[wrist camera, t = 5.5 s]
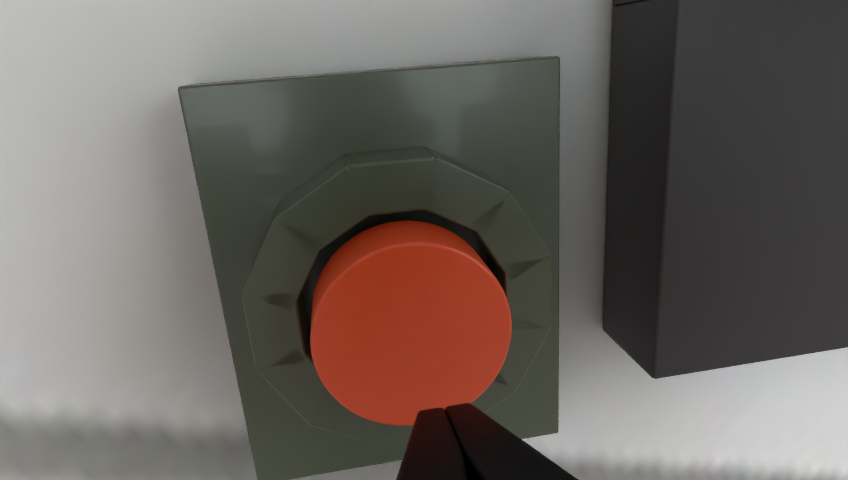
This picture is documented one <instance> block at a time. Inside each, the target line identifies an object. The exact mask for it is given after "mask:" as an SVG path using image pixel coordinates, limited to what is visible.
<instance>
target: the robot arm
mask: <svg viewBox="0 0 848 480" xmlns="http://www.w3.org/2000/svg"><path fill="white" fill-rule="evenodd" d="M396 480H578V479H576V478H575V477H574V476H572V475H571V474H569V473H568V472H567V471H565V470H564V469H562V468H561V467H560V466H558V465H557V464H555V463H554V462H552V461H551V460H550V459H548V458H547V457H545V456H544V455H543V454H541V453H540V452H538V451H537V450H536V449H534V448H533V447H531V446H530V445H529V444H527V443H526V442H524V441H523V440H522V439H520V438H519V437H517V436H516V435H514V434H513V433H512V432H510V431H509V430H507V429H506V428H505V427H503V426H502V425H500V424H499V423H498V422H496V421H495V420H493V419H492V418H491V417H489V416H488V415H486V414H485V413H484V412H482V411H481V410H479V409H478V408H477V407H475V406H474V405H472V404H470V403H463V404H457V405H451V406H447V407H446V408H445V410H444V409H443V408H440V407H439V408H432V409H426V410H421V411H419V412H418V414H417V416H416V419H415V422H414V426H413V429H412V432H411V435H410V438H409V441H408V445H407V448H406V451H405V454H404V457H403V460H402V463H401V467H400V470H399V473H398V476H397V479H396Z"/></svg>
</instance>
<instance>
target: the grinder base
mask: <svg viewBox="0 0 848 480" xmlns="http://www.w3.org/2000/svg"><path fill="white" fill-rule="evenodd" d="M613 5H614V6H615V7H614V8H613V29H612V61H611V93H610V125H609V157H608V189H607V221H606V253H605V285H604V317H603V330H604V331H605V332H606V333H607V334H608V335H609V336H610V337H611V338H612V339H613V340H614V341H615V342H616V343H617V344H618V345H619V346H620V347H621V348H622V349H623V350H624V351H625V352H626V353H627V354H628V355H629V356H631V357H632V358H633V359H634V360H635V361H636V362H637V363H638V364H639V365H640V366H641V367H642V368H643V369H644V370H645V371H646V372H647V373H648V374H649V375H650V376H651V377H652V378H655V379H657V378H663V377H669V376H675V375H681V374H687V373H693V372H699V371H705V370H711V369H717V368H724V367H730V366H736V365H742V364H748V363H754V362H760V361H766V360H772V359H778V358H784V357H791V356H797V355H803V354H809V353H815V352H821V351H827V350H833V349H839V348H845V347H848V0H613Z"/></svg>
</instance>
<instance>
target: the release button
mask: <svg viewBox="0 0 848 480" xmlns="http://www.w3.org/2000/svg"><path fill="white" fill-rule="evenodd" d="M511 331H512V320H511V311H510V307H509V303H508V300H507V297H506V295H505V292H504V290H503V288H502V286H501V285H500V283H499V281H498V280H497V278H496V277H495V276H494V274H493V273H492V272H491V271H490V269H489V268H488V267H487V265H486V264H485V263H484V262H483V260H482V259H481V258H480V256H479V255H478V254H477V253H476V252H475V250H474V249H473V248H472V247H471V246H470V245H469V244H468V243H467V242H466V241H465V240H464V239H462V238H461V237H460V236H458V235H457V234H455V233H454V232H452V231H450V230H448V229H446V228H444V227H441V226H438V225H435V224H432V223H427V222H422V221H411V220H406V221H394V222H388V223H383V224H380V225H377V226H374V227H371V228H369V229H367V230H364V231H362V232H360V233H359V234H357V235H355V236H354V237H352V238H351V239H349V240H348V241H347V242H346V243H344V244H343V245H342V246H341V247H340V248H339V249H338V250H337V251H336V252H335V253H334V254H333V255H332V256H331V258H330V259H329V260H328V262H327V263H326V264H325V266H324V268H323V270H322V272H321V273H320V275H319V278H318V280H317V283H316V286H315V290H314V294H313V301H312V316H311V333H310V346H311V355H312V359H313V363H314V366H315V369H316V371H317V374H318V376H319V378H320V380H321V381H322V383H323V385H324V386H325V388H326V389H327V390H328V391H329V393H330V394H331V395H332V396H333V397H334V398H335V399H336V400H337V401H338V402H339V403H340V404H341V405H343V406H344V407H346V408H347V409H348V410H350V411H351V412H353V413H355V414H357V415H359V416H361V417H363V418H366V419H368V420H371V421H374V422H378V423H382V424H388V425H396V426H411V425H414V422H415V419H416V416H417V414H418V412H419V411H421V410H426V409H432V408H439V407H440V408H443V409H444V410H445V408H446V407H447V406H451V405H457V404H463V403H470V404H471V403H472V402H473V401H474V400H476V399H477V398H478V397H479V396H480V395H481V394H482V393H483V392H484V391H485V390H486V389H487V388H488V387H489V386H490V384H491V383H492V382H493V381H494V379H495V378H496V376H497V375H498V373H499V371H500V370H501V368H502V365H503V363H504V361H505V359H506V356H507V353H508V350H509V345H510V340H511Z"/></svg>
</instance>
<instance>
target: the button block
mask: <svg viewBox="0 0 848 480" xmlns="http://www.w3.org/2000/svg"><path fill="white" fill-rule="evenodd" d="M178 93H179V98H180V103H181V107H182V112H183V117H184V122H185V127H186V132H187V137H188V142H189V147H190V152H191V156H192V161H193V166H194V171H195V176H196V181H197V186H198V191H199V196H200V200H201V205H202V210H203V215H204V220H205V225H206V230H207V235H208V240H209V244H210V249H211V254H212V259H213V264H214V269H215V274H216V279H217V284H218V288H219V293H220V298H221V303H222V308H223V313H224V318H225V323H226V328H227V333H228V337H229V342H230V347H231V352H232V357H233V362H234V367H235V372H236V377H237V381H238V386H239V391H240V396H241V401H242V406H243V411H244V416H245V421H246V425H247V430H248V435H249V440H250V445H251V450H252V455H253V460H254V465H255V469H256V474H257V479H258V480H288V479H294V478H300V477H305V476H311V475H317V474H323V473H329V472H334V471H340V470H346V469H352V468H357V467H363V466H369V465H375V464H380V463H386V462H392V461H398V460H403V457H404V454H405V451H406V448H407V445H408V441H409V438H410V435H411V432H412V429H413V426H414V425H411V426H396V425H388V424H382V423H378V422H374V421H371V420H368V419H366V418H363V417H361V416H359V415H357V414H355V413H353V412H351V411H350V410H348V409H347V408H346V407H344V406H343V405H341V404H340V403H339V402H338V401H337V400H336V399H335V398H334V397H333V396H332V395H331V394H330V393H329V391H328V390H327V389H326V388H325V386H324V385H323V383H322V381H321V380H320V378H319V376H318V374H317V371H316V369H315V366H314V363H313V359H312V355H311V346H310V333H311V316H312V301H313V294H314V290H315V286H316V283H317V280H318V278H319V275H320V273H321V272H322V270H323V268H324V266H325V264H326V263H327V262H328V260H329V259H330V258H331V256H332V255H333V254H334V253H335V252H336V251H337V250H338V249H339V248H340V247H341V246H342V245H343V244H344V243H346V242H347V241H348V240H349V239H351V238H352V237H354V236H355V235H357V234H359V233H360V232H362V231H364V230H367V229H369V228H371V227H374V226H377V225H380V224H383V223H388V222H394V221H406V220H411V221H422V222H427V223H432V224H435V225H438V226H441V227H444V228H446V229H448V230H450V231H452V232H454V233H455V234H457V235H458V236H460V237H461V238H462V239H464V240H465V241H466V242H467V243H468V244H469V245H470V246H471V247H472V248H473V249H474V250H475V252H476V253H477V254H478V255H479V256H480V258H481V259H482V260H483V262H484V263H485V264H486V265H487V267H488V268H489V269H490V271H491V272H492V273H493V274H494V276H495V277H496V278H497V280H498V281H499V283H500V285H501V286H502V288H503V290H504V292H505V295H506V297H507V300H508V303H509V307H510V311H511V320H512V331H511V340H510V345H509V350H508V353H507V356H506V359H505V361H504V363H503V365H502V368H501V370H500V371H499V373H498V375H497V376H496V378H495V379H494V381H493V382H492V383H491V384H490V386H489V387H488V388H487V389H486V390H485V391H484V392H483V393H482V394H481V395H480V396H479V397H478V398H477V399H476V400H474V401H473V402H472V403H471V404H472V405H474V406H475V407H477V408H478V409H479V410H481V411H482V412H484V413H485V414H486V415H488V416H489V417H491V418H492V419H493V420H495V421H496V422H498V423H499V424H500V425H502V426H503V427H505V428H506V429H507V430H509V431H510V432H512V433H513V434H514V435H516V436H517V437H519V438H520V439H524V438H530V437H536V436H542V435H547V434H553V433H557V432H558V391H559V100H560V58H559V57H558V56H545V57H528V58H515V59H502V60H490V61H477V62H465V63H452V64H440V65H427V66H415V67H402V68H390V69H377V70H364V71H352V72H339V73H327V74H314V75H302V76H289V77H277V78H264V79H251V80H239V81H226V82H214V83H201V84H191V85H185V86H180V87H178Z"/></svg>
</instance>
